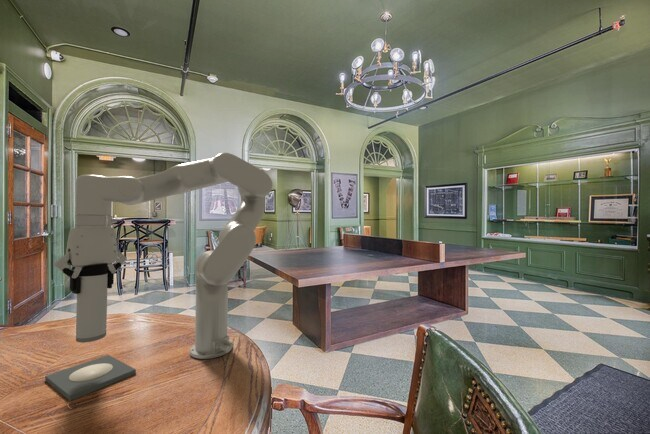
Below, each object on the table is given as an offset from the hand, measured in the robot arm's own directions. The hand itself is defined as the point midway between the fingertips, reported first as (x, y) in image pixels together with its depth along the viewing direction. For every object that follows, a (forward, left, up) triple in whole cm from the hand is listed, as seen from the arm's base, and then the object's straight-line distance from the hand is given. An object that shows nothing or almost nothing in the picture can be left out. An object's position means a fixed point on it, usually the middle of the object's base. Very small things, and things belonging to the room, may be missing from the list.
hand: (92, 289), depth 77 cm
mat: (0, 0, -23) cm, 23 cm away
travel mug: (0, 0, -13) cm, 13 cm away
